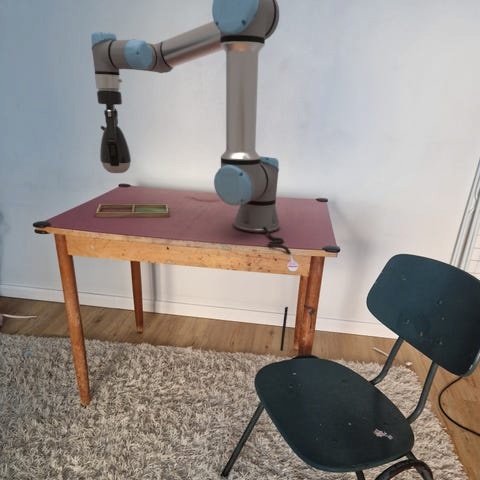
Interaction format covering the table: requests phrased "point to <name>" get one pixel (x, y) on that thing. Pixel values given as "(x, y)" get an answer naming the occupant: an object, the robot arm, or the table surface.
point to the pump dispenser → (122, 152)
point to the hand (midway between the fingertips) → (116, 163)
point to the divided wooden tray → (140, 211)
